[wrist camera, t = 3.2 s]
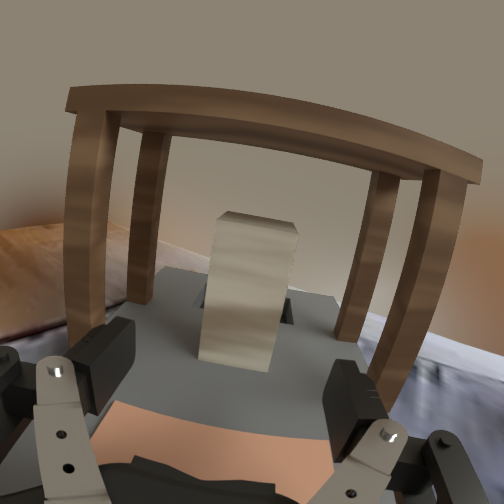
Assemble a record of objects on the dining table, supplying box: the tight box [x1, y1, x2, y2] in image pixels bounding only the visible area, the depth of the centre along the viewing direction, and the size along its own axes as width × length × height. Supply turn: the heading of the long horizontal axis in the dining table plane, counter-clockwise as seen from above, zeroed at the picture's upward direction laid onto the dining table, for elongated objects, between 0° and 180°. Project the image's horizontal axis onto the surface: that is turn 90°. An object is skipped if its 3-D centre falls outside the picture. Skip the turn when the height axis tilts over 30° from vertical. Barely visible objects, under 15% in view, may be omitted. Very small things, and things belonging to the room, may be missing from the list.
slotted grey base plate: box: [0, 266, 396, 504], centre depth 21 cm, size 36×22×3 cm, turn 177°
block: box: [198, 211, 299, 372], centre depth 22 cm, size 5×5×10 cm
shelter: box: [63, 84, 483, 413], centre depth 21 cm, size 12×24×17 cm, turn 87°
